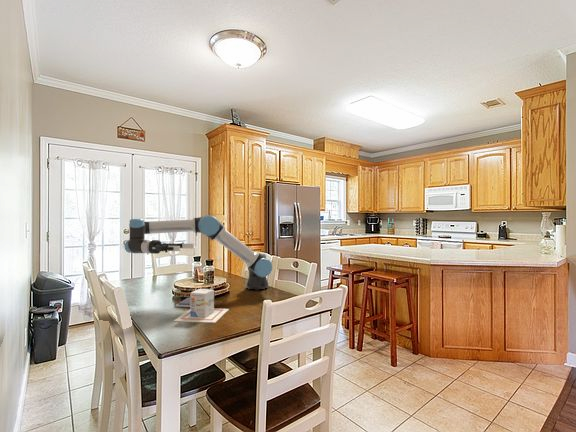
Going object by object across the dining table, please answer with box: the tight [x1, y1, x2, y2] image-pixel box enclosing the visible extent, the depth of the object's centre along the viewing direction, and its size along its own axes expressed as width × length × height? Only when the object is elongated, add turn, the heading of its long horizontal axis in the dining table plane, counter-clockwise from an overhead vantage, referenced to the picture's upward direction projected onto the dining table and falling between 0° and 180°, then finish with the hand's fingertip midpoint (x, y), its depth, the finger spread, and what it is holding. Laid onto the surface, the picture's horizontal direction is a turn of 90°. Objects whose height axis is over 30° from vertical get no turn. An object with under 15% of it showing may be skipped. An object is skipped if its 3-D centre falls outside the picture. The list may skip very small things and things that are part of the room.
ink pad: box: [175, 296, 190, 308], centre depth 170 cm, size 15×14×2 cm
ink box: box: [189, 288, 215, 318], centre depth 150 cm, size 9×8×12 cm
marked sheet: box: [173, 307, 230, 324], centre depth 150 cm, size 20×20×1 cm
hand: (186, 247), depth 165 cm, fingers open, 13 cm apart
